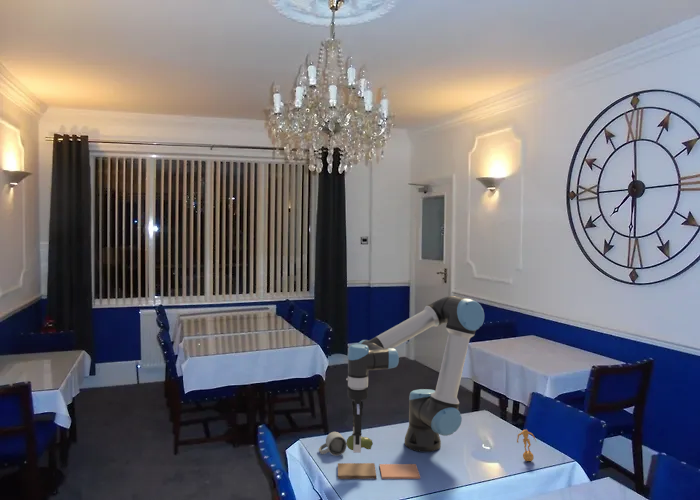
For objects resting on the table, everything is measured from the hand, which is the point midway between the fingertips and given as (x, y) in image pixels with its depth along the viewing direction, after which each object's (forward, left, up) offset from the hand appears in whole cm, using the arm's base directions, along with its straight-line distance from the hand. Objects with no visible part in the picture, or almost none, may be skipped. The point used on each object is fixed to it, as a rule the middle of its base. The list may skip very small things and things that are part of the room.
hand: (356, 448), depth 193 cm
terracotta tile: (-16, 0, -9) cm, 19 cm away
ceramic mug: (+9, -18, -9) cm, 22 cm away
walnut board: (0, 0, -9) cm, 9 cm away
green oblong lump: (-1, 0, -1) cm, 1 cm away
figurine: (-68, -10, -9) cm, 70 cm away
